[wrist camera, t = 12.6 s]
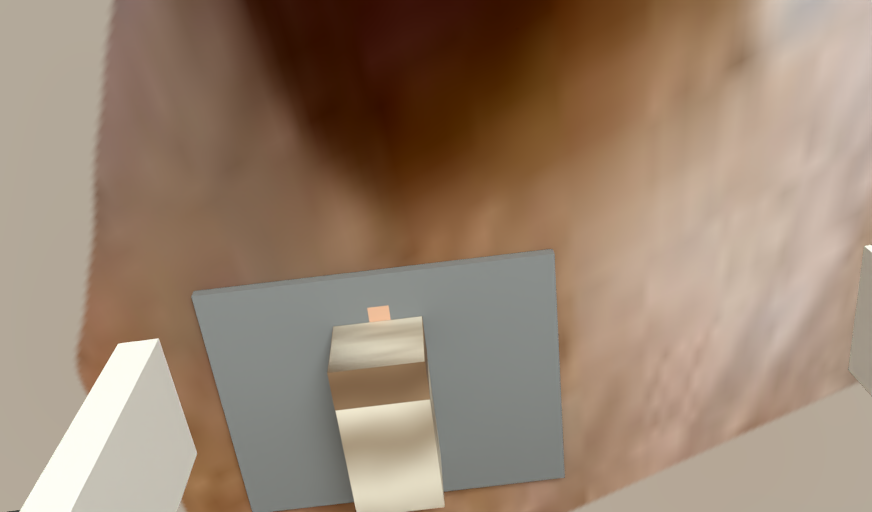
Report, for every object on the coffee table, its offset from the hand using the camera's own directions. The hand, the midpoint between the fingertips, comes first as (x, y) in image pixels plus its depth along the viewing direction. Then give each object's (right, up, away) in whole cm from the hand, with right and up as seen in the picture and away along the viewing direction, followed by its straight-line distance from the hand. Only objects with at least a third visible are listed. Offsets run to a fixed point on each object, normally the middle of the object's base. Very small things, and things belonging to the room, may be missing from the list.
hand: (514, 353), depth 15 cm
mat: (-4, -6, +32) cm, 33 cm away
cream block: (-4, -6, +32) cm, 33 cm away
